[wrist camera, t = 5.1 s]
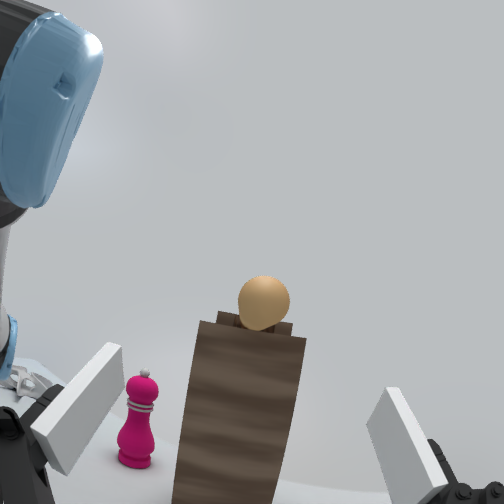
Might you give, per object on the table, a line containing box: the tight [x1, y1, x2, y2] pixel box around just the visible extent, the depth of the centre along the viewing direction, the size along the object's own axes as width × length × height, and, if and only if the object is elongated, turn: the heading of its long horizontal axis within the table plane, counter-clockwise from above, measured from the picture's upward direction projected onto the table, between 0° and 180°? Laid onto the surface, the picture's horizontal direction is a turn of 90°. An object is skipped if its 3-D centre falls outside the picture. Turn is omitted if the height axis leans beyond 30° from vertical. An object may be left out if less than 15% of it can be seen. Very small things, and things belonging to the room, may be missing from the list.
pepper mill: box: [117, 368, 159, 469], centre depth 43 cm, size 7×7×20 cm
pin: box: [238, 276, 290, 331], centre depth 29 cm, size 24×3×3 cm, turn 2°
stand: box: [171, 311, 306, 504], centre depth 30 cm, size 17×10×32 cm, turn 2°
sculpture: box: [0, 365, 52, 398], centre depth 50 cm, size 18×20×6 cm
